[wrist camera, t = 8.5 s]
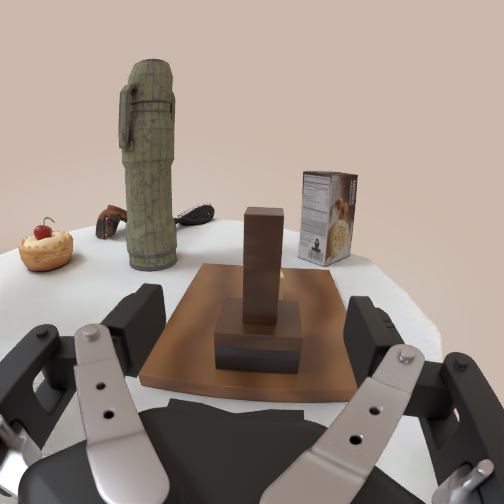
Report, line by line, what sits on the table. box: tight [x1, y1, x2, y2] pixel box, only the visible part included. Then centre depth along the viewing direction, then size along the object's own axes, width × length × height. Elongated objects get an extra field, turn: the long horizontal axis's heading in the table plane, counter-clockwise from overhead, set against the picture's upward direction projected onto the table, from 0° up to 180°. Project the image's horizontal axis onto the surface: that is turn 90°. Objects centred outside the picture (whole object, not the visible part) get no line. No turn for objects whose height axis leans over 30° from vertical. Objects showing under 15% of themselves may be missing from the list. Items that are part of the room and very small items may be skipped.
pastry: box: [19, 217, 73, 271], centre depth 46 cm, size 12×12×9 cm
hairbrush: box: [174, 205, 214, 224], centre depth 75 cm, size 8×4×25 cm
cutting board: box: [138, 263, 358, 402], centre depth 34 cm, size 20×26×2 cm
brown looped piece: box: [95, 205, 128, 239], centre depth 65 cm, size 12×10×8 cm
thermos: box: [119, 59, 177, 271], centre depth 45 cm, size 9×12×35 cm
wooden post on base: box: [214, 207, 303, 374], centre depth 24 cm, size 7×6×13 cm
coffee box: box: [298, 171, 358, 267], centre depth 53 cm, size 9×6×16 cm
